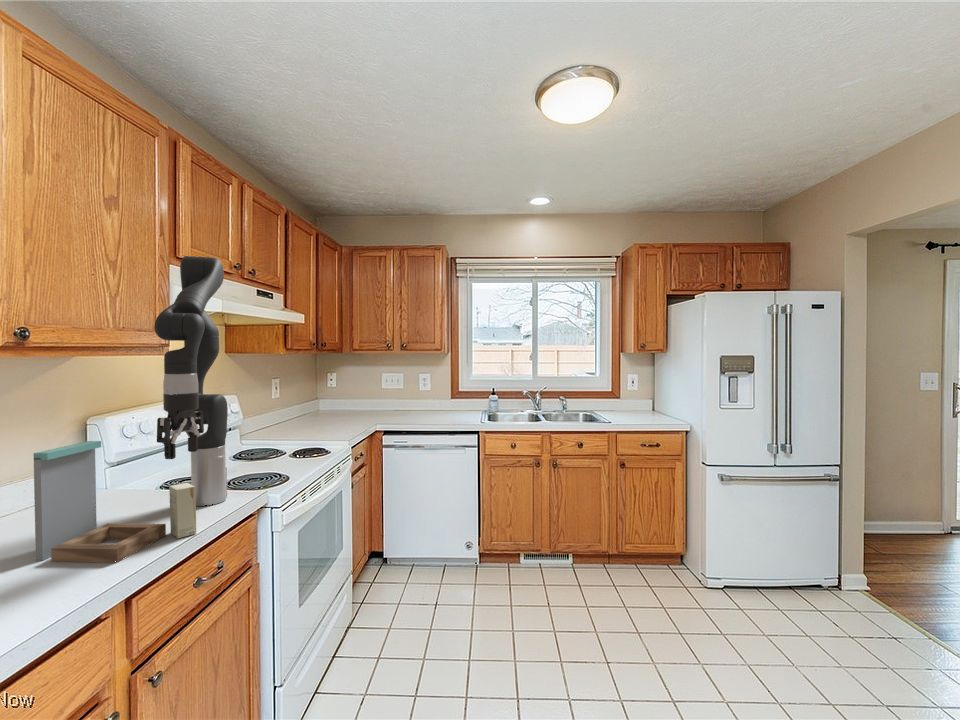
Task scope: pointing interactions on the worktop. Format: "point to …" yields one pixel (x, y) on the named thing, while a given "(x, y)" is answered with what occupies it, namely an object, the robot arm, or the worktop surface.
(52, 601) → the worktop surface
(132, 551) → the socket block
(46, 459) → the board
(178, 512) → the skincare box
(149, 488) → the worktop surface
